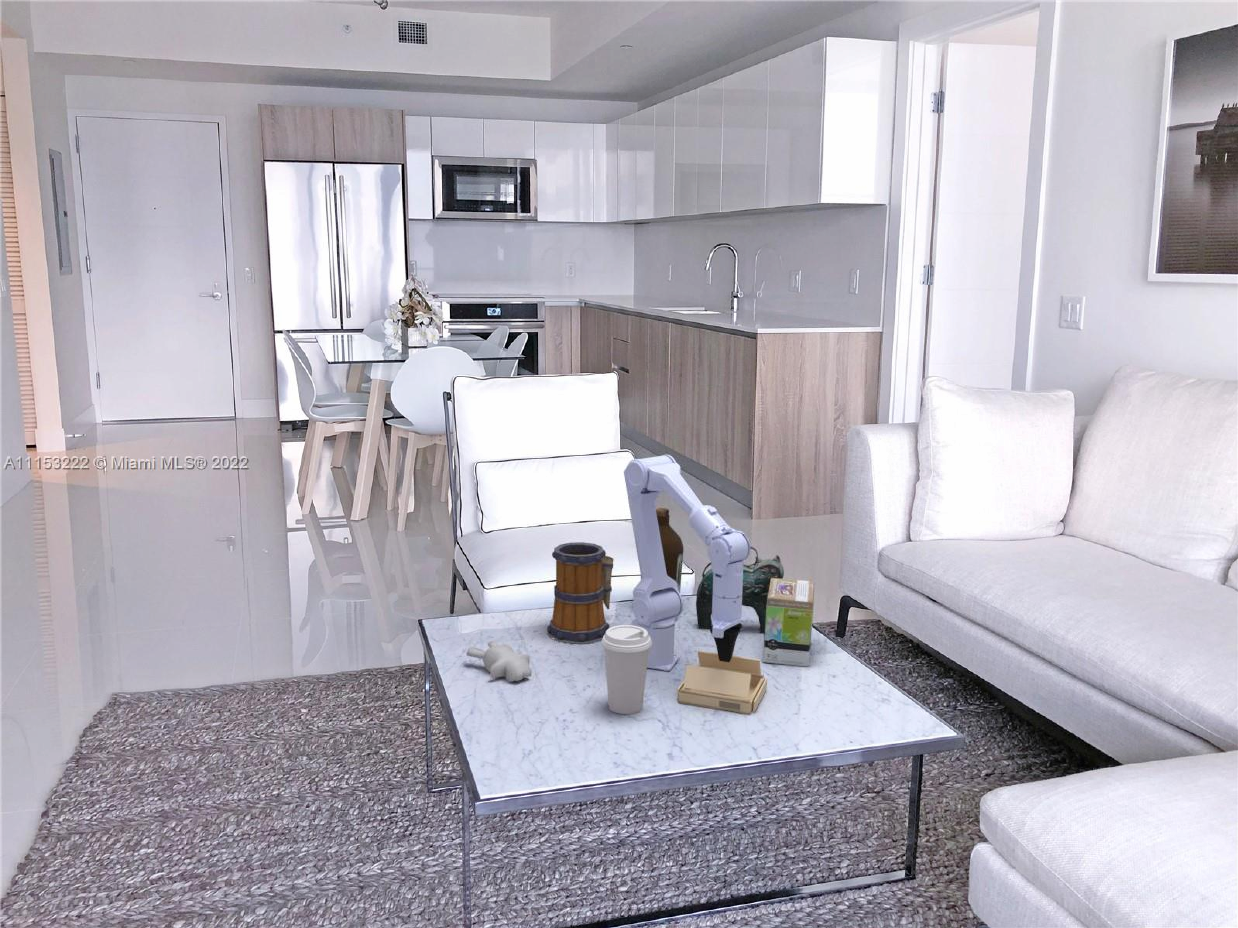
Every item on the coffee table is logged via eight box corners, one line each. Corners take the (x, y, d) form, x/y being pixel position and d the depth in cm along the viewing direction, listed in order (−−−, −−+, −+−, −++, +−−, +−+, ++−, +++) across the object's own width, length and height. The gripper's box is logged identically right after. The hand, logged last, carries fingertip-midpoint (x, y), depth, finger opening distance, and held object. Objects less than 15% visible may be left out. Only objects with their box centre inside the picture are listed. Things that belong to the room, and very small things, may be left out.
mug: (585, 612, 242) (586, 532, 238) (634, 625, 233) (636, 542, 229) (533, 634, 226) (533, 550, 222) (583, 649, 218) (584, 561, 214)
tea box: (810, 667, 210) (814, 601, 207) (762, 663, 212) (765, 597, 209) (811, 642, 224) (814, 579, 222) (766, 638, 226) (769, 576, 223)
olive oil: (638, 614, 240) (640, 514, 235) (638, 600, 251) (640, 503, 246) (682, 615, 240) (685, 515, 235) (681, 601, 250) (684, 504, 245)
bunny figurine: (505, 670, 196) (462, 641, 206) (504, 693, 198) (460, 663, 208) (543, 658, 203) (498, 630, 213) (541, 681, 204) (497, 652, 214)
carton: (675, 702, 192) (675, 688, 192) (693, 676, 204) (694, 663, 204) (753, 715, 187) (754, 701, 187) (767, 687, 199) (768, 674, 199)
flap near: (683, 687, 192) (687, 664, 193) (683, 687, 192) (687, 664, 193) (747, 697, 187) (751, 674, 189) (748, 697, 188) (751, 674, 189)
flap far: (699, 665, 203) (697, 651, 200) (700, 664, 203) (697, 650, 200) (760, 674, 199) (759, 660, 196) (761, 673, 199) (759, 659, 196)
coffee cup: (614, 721, 184) (615, 645, 181) (592, 701, 192) (592, 627, 189) (659, 711, 188) (661, 636, 185) (635, 692, 196) (637, 620, 193)
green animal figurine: (780, 627, 233) (785, 545, 229) (781, 637, 227) (785, 553, 223) (696, 622, 236) (698, 540, 232) (694, 631, 230) (696, 548, 226)
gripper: (739, 608, 185) (736, 677, 187) (755, 585, 198) (753, 650, 201) (702, 603, 187) (700, 671, 190) (721, 581, 200) (718, 645, 203)
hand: (725, 660), depth 195 cm, fingers closed
